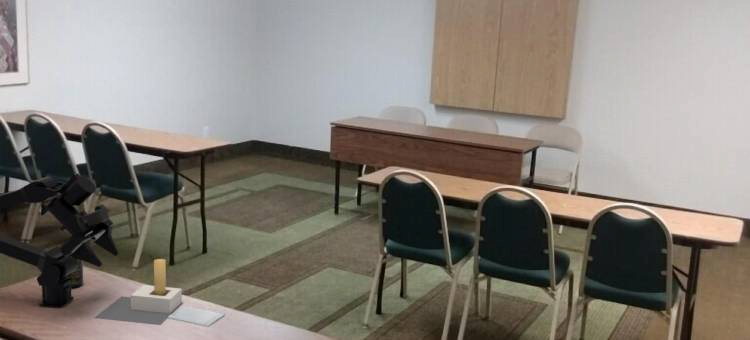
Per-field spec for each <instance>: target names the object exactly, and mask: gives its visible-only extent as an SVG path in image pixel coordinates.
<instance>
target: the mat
mask: <svg viewBox="0 0 750 340" xmlns="http://www.w3.org/2000/svg"><path fill="white" fill-rule="evenodd" d="M183 304H184V302H182V303H181V304H180V305H179V306H178V307H177V308H175V309H174V310H173V311H172V312H171V313H161V312H151V311H141V310H132V309H131V296H123V295H122V296H120V297H119V298H118V299H116V300H115V301H114V302H113V303H111V304H110V305H109V306H107V307H106V308H104V309H103V310H102V311H101V312H100V313H98V314H97V315H96V316H94V319H100V320H109V321H110V320H111V321H119V322H120V321H121V322H129V323H135V324H136V323H137V324H147V325H156V326H157V325H158V326H161V325H162V324H163V323H164V322H166V320H167V319H169V318H168V316H169V315H171V314H173V313H174V312H176V311H178V310H179V309H180V307H181V306H182V305H183Z"/></svg>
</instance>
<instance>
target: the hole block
mask: <svg viewBox="0 0 750 340" xmlns="http://www.w3.org/2000/svg"><path fill="white" fill-rule="evenodd" d="M182 295H183V289H182V288H180V287H179V288H178V287H169V286H166V296H158V295H154V285H148V284H143V285H141V286H140V287H139V288H138V289H136V290H135V291H134V292H133V293H132V294H131V295H130V297H131V309H132V310H141V311H151V312H161V313H171V312H172V311H173V310H174V309H175V308H177V307H178V306H179V305H180V304H181V303H182V301H183V298H182Z"/></svg>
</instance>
